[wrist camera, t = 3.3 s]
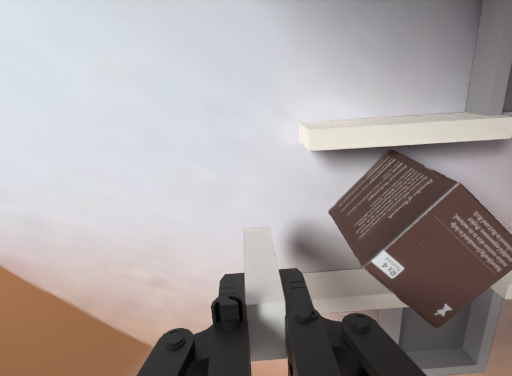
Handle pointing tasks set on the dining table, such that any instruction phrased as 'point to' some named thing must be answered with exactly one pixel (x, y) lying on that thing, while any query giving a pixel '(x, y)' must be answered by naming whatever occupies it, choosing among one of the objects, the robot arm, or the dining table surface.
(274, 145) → the dining table surface
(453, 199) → the box
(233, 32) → the dining table surface
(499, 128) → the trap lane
